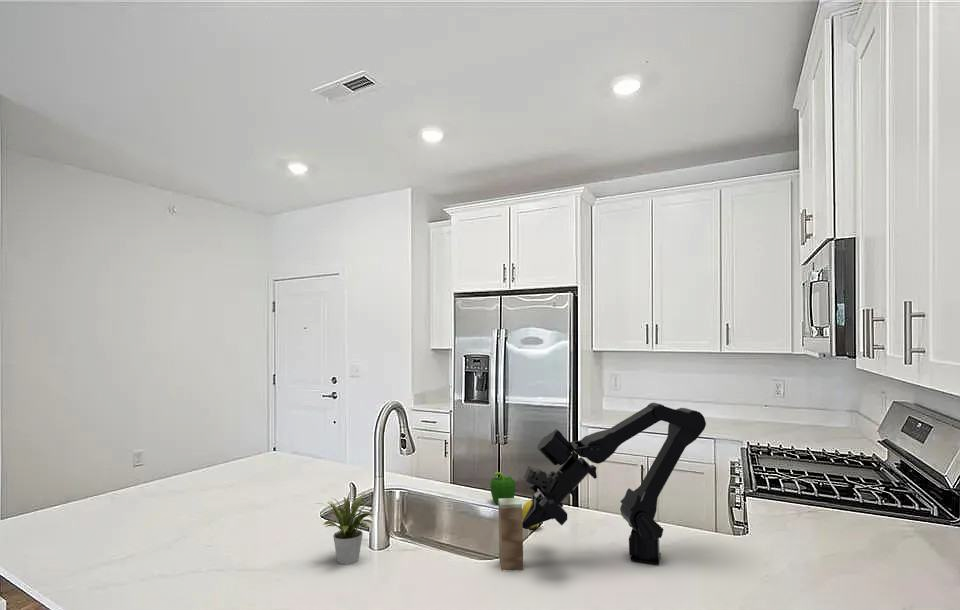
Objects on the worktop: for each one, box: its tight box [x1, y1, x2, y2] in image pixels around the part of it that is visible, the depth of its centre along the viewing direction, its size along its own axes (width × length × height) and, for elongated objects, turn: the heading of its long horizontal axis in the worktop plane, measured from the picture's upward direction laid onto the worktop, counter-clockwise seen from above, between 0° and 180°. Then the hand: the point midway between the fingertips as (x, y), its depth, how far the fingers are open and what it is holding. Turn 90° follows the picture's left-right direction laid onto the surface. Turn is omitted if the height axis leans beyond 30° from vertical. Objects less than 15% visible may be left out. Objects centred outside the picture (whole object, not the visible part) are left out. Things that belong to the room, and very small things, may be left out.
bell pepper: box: [490, 471, 517, 505], centre depth 170 cm, size 8×8×10 cm
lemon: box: [522, 499, 540, 530], centre depth 147 cm, size 6×6×8 cm
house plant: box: [313, 491, 375, 565], centre depth 127 cm, size 14×14×16 cm
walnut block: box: [498, 497, 524, 572], centre depth 123 cm, size 5×5×15 cm
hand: (522, 526), depth 123 cm, fingers closed
